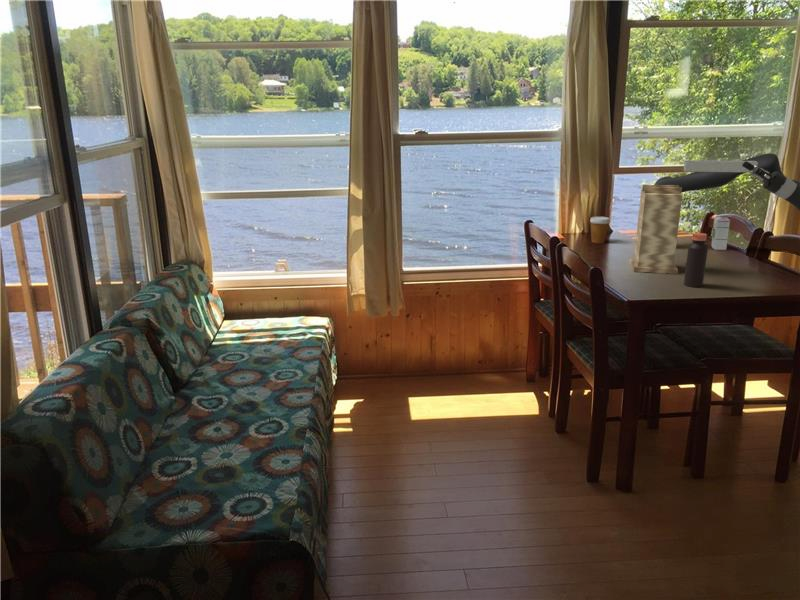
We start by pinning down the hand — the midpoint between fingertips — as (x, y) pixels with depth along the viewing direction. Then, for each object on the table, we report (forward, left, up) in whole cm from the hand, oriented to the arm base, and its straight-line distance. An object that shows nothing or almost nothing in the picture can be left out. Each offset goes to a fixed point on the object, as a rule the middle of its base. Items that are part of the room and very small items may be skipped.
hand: (742, 162), depth 259 cm
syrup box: (-26, +36, -44) cm, 63 cm away
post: (-21, -21, -44) cm, 53 cm away
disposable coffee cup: (-68, +1, -44) cm, 81 cm away
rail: (-6, -6, -3) cm, 9 cm away
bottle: (+4, -29, -44) cm, 53 cm away
